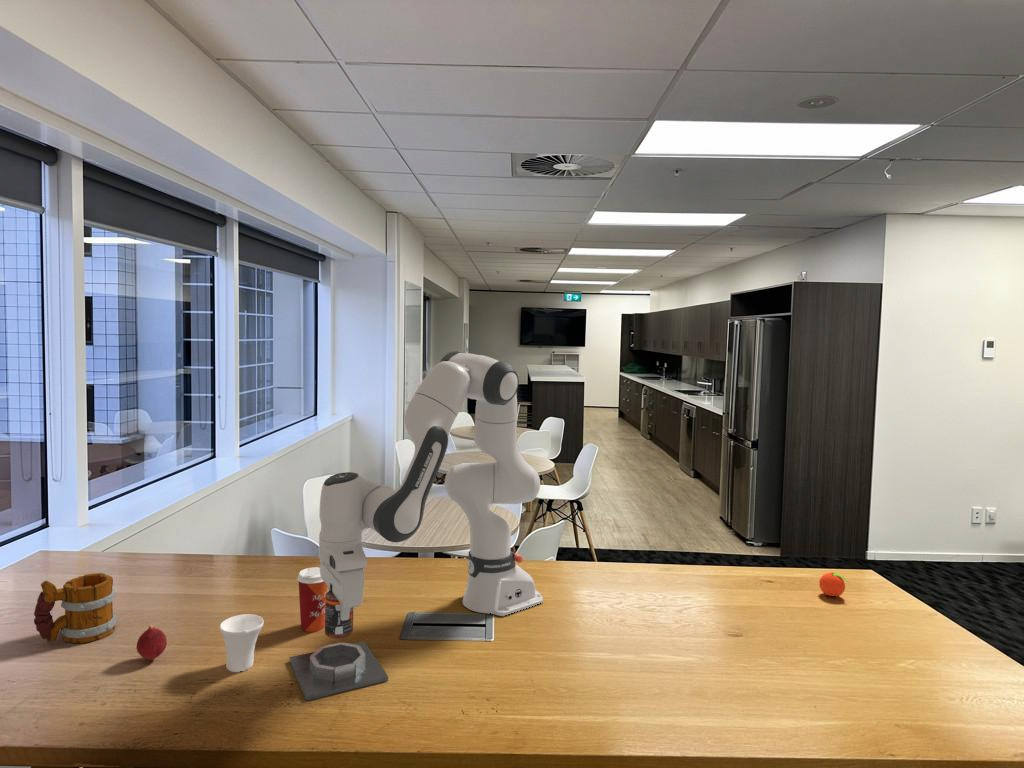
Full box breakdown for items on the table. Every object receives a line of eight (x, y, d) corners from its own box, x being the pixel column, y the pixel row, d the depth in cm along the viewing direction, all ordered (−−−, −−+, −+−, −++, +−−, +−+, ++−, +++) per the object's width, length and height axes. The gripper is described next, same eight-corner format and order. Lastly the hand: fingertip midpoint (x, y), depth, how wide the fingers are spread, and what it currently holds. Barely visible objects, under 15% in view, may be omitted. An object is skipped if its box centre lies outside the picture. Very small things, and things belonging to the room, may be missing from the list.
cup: (221, 681, 136) (221, 635, 135) (218, 660, 144) (218, 616, 143) (266, 672, 140) (266, 627, 139) (261, 652, 148) (261, 609, 147)
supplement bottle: (346, 641, 137) (346, 588, 136) (319, 638, 138) (319, 586, 137) (357, 628, 142) (358, 578, 142) (332, 625, 144) (332, 575, 143)
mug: (124, 633, 154) (123, 572, 153) (40, 657, 142) (38, 591, 141) (110, 618, 162) (108, 559, 160) (29, 640, 150) (27, 576, 148)
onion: (173, 656, 145) (172, 622, 144) (151, 669, 139) (150, 633, 139) (153, 651, 147) (152, 617, 146) (130, 663, 141) (130, 628, 141)
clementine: (849, 596, 194) (851, 572, 193) (847, 604, 188) (849, 580, 187) (820, 589, 198) (821, 566, 197) (816, 597, 192) (818, 573, 191)
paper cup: (319, 635, 157) (320, 579, 156) (290, 631, 158) (291, 576, 157) (334, 621, 164) (335, 568, 163) (306, 617, 166) (307, 564, 165)
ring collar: (364, 645, 153) (364, 631, 153) (388, 680, 138) (388, 665, 138) (289, 661, 145) (289, 646, 144) (306, 701, 130) (306, 684, 130)
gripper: (313, 537, 146) (312, 597, 147) (338, 566, 129) (337, 634, 130) (341, 534, 149) (340, 592, 150) (369, 562, 132) (368, 628, 133)
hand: (339, 612), depth 140 cm, fingers closed on supplement bottle, 6 cm apart
